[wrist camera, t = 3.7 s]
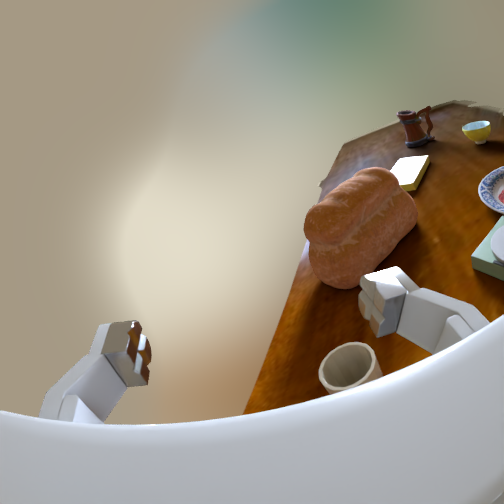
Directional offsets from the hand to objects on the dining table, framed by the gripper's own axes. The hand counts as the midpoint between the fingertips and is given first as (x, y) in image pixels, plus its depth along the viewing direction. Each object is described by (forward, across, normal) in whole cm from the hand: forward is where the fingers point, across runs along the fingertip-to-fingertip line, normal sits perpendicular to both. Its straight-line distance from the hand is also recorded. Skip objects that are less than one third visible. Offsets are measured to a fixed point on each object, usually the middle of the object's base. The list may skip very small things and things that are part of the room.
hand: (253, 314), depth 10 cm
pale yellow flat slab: (+63, +57, -16) cm, 86 cm away
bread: (+38, +28, -23) cm, 53 cm away
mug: (+85, +85, -9) cm, 121 cm away
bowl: (+55, +86, -3) cm, 102 cm away
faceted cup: (+7, +12, -25) cm, 28 cm away
